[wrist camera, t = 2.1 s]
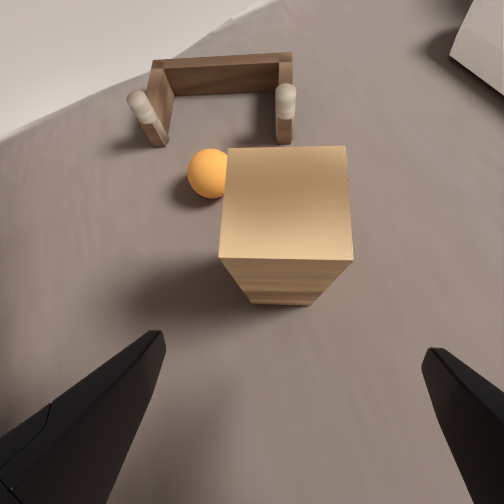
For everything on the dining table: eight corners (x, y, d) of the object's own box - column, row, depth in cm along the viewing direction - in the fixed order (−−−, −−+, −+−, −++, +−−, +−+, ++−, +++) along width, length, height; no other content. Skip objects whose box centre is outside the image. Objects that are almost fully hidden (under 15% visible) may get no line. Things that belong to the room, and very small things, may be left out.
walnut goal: (292, 143, 25) (296, 98, 21) (152, 147, 27) (124, 105, 22) (292, 81, 28) (295, 28, 23) (163, 87, 29) (141, 38, 24)
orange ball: (227, 212, 24) (218, 188, 20) (188, 198, 25) (171, 172, 21) (245, 175, 25) (239, 145, 21) (206, 162, 26) (194, 132, 22)
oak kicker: (310, 305, 21) (353, 260, 9) (251, 303, 21) (218, 257, 9) (309, 249, 22) (345, 145, 10) (254, 249, 22) (228, 148, 11)
